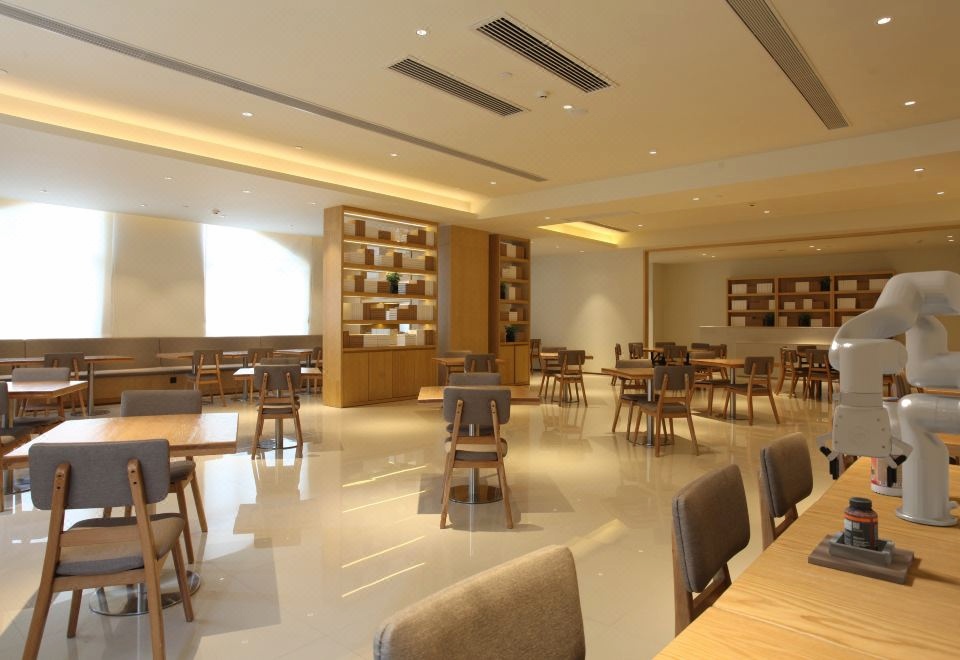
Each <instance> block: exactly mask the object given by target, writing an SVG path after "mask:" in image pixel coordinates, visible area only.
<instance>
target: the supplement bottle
mask: <svg viewBox="0 0 960 660" xmlns="http://www.w3.org/2000/svg"><path fill="white" fill-rule="evenodd" d="M848 499H849V500H848V501H849V502H848V504H849V506H848V507H846V508H845V509H844V510H843V511H844V512H843V513H844V516H843V518H844V519H843V523H844V524H843V525H844V526H843V528H844V530H843V531H844V534H845V545H849V546H854V547H859V548H864V549H869V550H874V551H878V538H879V517H878V516H879V515H878V513H877V512H876V510H874V509H873V508H872V507H873V501H872V500H871V499H869V498H866V497H862V496H861V497H860V496H852V497H849V498H848Z"/></svg>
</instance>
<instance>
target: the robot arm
mask: <svg viewBox="0 0 960 660" xmlns="http://www.w3.org/2000/svg"><path fill="white" fill-rule="evenodd" d="M935 316H960V274H959V273H956V272H954V271H951V270H931V271H930V270H929V271H915V272H904V273H899V274H896V275H894V276H892V277H890V278H889V280H888V281H887V282H886V283H885V286H884V287H883V290H882V291H881V293H880V295H879V297H878V299H877V301H876V303H875V304H874V306H873V308H871V309H869V310H867V311H865V312H862V313H860V314H858V315H857V316H855V317H853V318H851V319H849V320H847V321H846V322H845V323H843V324H842V325H841V326H840V327H839V328H838V330H837V331H836V333H835V336H834V337H833V339H832V340H831V343H830V346H829V349H828V361H829V364H830V365H831V367H832V369H834V370H836V371H838V372H839V392H835V393H834V392H833V393H832V395H831V397H832V398H831V399H832V400H836V401H838V405H835V408H834V414H833V419H832V420H833V421H832V431H830V432H827V433H824V434H822V435H819V436H816V437H815V438H814V442H815V443H816V446H817V447H818V448H819V451H820V452H821V453H822V454H823V455H824V456H825V457H826V459H827V460H828V461H829V462H828V463H829V469H828V470H829V475H832V480H834V481H836V480H838V479H839V478H840V459H839V458H838V456H839V455H847V456H856V457H864V458H865V457H866V458H871V457H872V458H883V459H884V460H885V461H886V462H887V463H888V467H887V487H890V488H892V486H893V483H897V466H899V465H900V464H902V496H901V497H902V499H901V500H902V501H901V502H902V506H900V507H896V508H895V509H894V514H895V516H897V517H898V518H901V519H903V520H905V521H909V522H913V523H915V524H916V523H917V524H922V525H929V526H938V527H939V526H940V527H949V526H955V525H957V524H958V518H957V517H956V516H955V515H953V514H952V513H951V510H955V509H956V510H957V509H958V508H959V505H960V504H959V503H958V501H955V500H950V453H949V448H948V447H947V445H946V444H945V442H944V440H943V439H942V438H941V437H940V436H939V435H938V434H946V435H955V436H960V395H947V394H946V395H945V394H935V393H934V394H933V393H924V392H923V393H922V392H920V393H917V392H916V393H910V394H906V395H903V396H902V397H901V398H899V399H900V400H899V402H898V417H899V422H900V427H901V434H902V441H901V440H899V439H897V438H895V437H893V436H891V427H890V420H889V415H888V411H887V408H885V407H883V397H884V388H883V387H884V385H883V384H884V382H883V381H884V380H883V378H884V375H893V374H897V373H899V372H901V371H902V370H903V369H905V379H906V381H907V383H908V384H909V385H911V386H912V387H916V388H921V389H930V390H931V389H932V390H935V389H936V390H948V391H949V390H950V391H951V390H952V391H957V392H959V393H960V351H949V349H948V331H947V329H946V327H945V325H943V324H942V323H941V321H940V320H938V318H937V317H935ZM904 333H905V345H904V344H903V342H901V341H899V340H896V339H891V338H892V337H896V336H897V335H898V336H899V335H901V334H904ZM828 440H831V447H832V450H831V449H830V448H829V447H828V446H827V445H826V443H825V441H828ZM892 444H893V445H895V446H897V447H899V448H900V449H902V454H901V455H900V456H899V457H897V458H896V459H895V457H894V456H893V455H892V454H891V451H892Z"/></svg>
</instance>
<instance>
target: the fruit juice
mask: <svg viewBox="0 0 960 660" xmlns="http://www.w3.org/2000/svg"><path fill="white" fill-rule="evenodd" d="M900 399H901V398H899V397H896V396H895V397H892V396H883V407H885V408H887V411H888V415H889V420H890V427H891V436H893V437H895V438H897V439H899V440H901V441H902V434H901V427H900V422H899V417H898V402H899V400H900ZM891 454H892V455H893V456H894V457H895V459H896V458H897V457H899V456H900V455H901V454H902V449H900V448H899V447H897V446H895V445H893V444H892V451H891ZM887 467H888V463H887V462H886V461H885V460H884V459H883V458H872V457H870V488H871V491H872V490H873V491H872V492H874V493H876V492H877V493H876V494H879V493H880V495H883V494H884V495H883V496H890V497H902V464H900V465H899V466H897V483H893V486H892V488H890V487H887Z"/></svg>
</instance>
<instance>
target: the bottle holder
mask: <svg viewBox="0 0 960 660" xmlns="http://www.w3.org/2000/svg"><path fill="white" fill-rule="evenodd" d="M895 543H896V542H893V541H892V540H891V539H885V538H880V537H878V551H874V550H869V549H864V548H859V547H854V546H849V545H845V534H844V530H841V531H836V532H835V533H834V535H833V534H828V533H827V534H826V535H825V536H824V537H823V539H822V540H821V541H820V542H819V544H818V545H817V546H816V547H815V548H814V549H813V550H812V551H811V553H810V554H809V555H808V556H807V563H808V564H811V565H816V566H822V567H825V568H829V569H833V570H837V571H843V572H847V573H851V574H856V575H859V576H865V577H869V578H874V579H876V580H882V581H886V582H890V583H896V584H899V585H904V584H905V583H906V582H905V581H906V579H907V576H908V574H909V571H910V568H911V566H912V563H913V561H914V558H915V551H913V550H909V549H903V548H899V547H896V545H895Z"/></svg>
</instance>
